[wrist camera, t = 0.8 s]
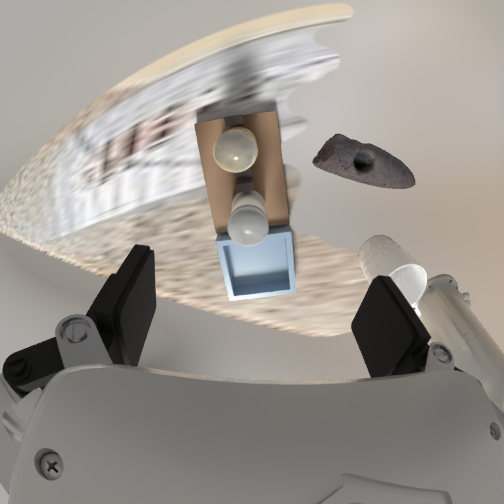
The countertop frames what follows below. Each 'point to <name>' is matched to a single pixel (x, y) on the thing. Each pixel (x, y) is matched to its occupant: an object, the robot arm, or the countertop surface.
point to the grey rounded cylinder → (248, 219)
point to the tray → (258, 265)
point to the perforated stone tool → (363, 163)
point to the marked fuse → (235, 150)
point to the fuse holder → (254, 178)
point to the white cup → (393, 266)
